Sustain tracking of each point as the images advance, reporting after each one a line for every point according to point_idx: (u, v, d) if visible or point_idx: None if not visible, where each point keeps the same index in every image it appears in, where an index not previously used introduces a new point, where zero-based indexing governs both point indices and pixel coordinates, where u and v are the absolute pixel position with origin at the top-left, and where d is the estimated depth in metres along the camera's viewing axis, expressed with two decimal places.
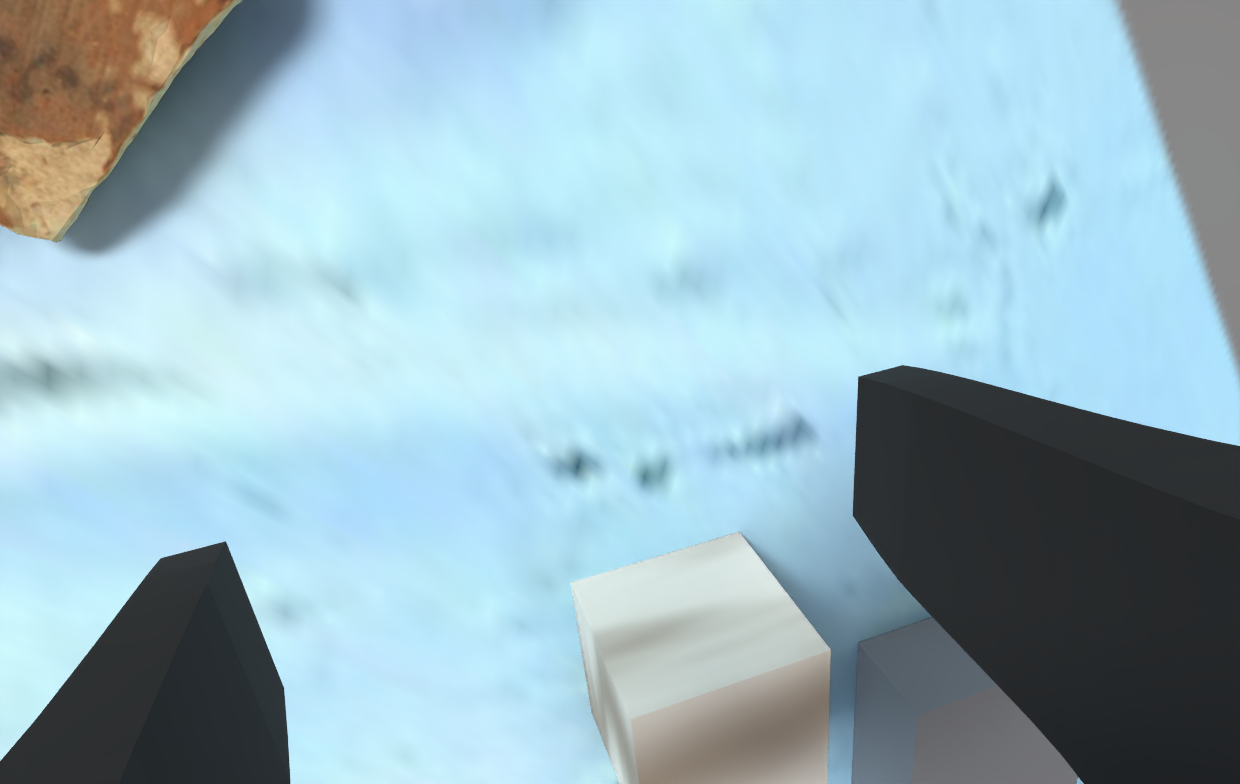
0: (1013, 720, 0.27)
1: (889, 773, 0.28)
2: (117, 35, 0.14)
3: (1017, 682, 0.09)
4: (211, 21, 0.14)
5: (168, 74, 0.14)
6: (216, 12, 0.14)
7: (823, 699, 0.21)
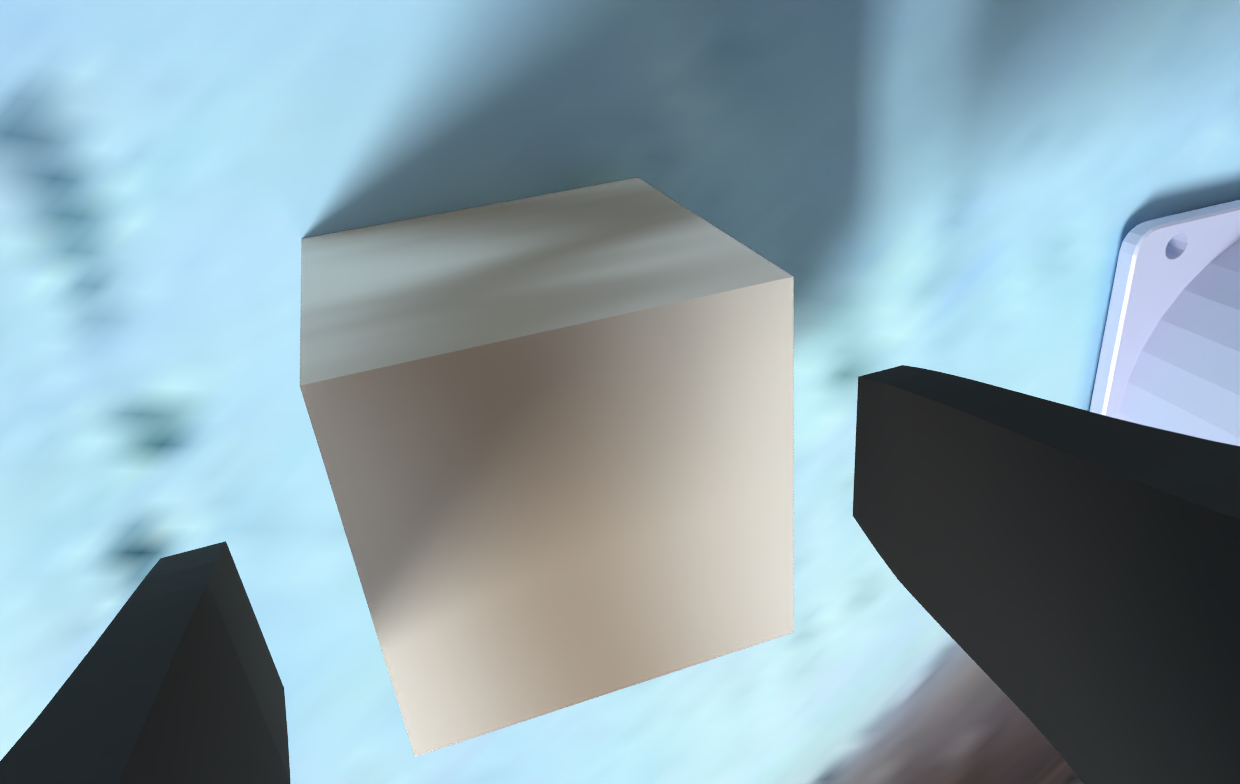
0: None
1: None
2: None
3: (1017, 682, 0.09)
4: None
5: None
6: None
7: (472, 364, 0.08)
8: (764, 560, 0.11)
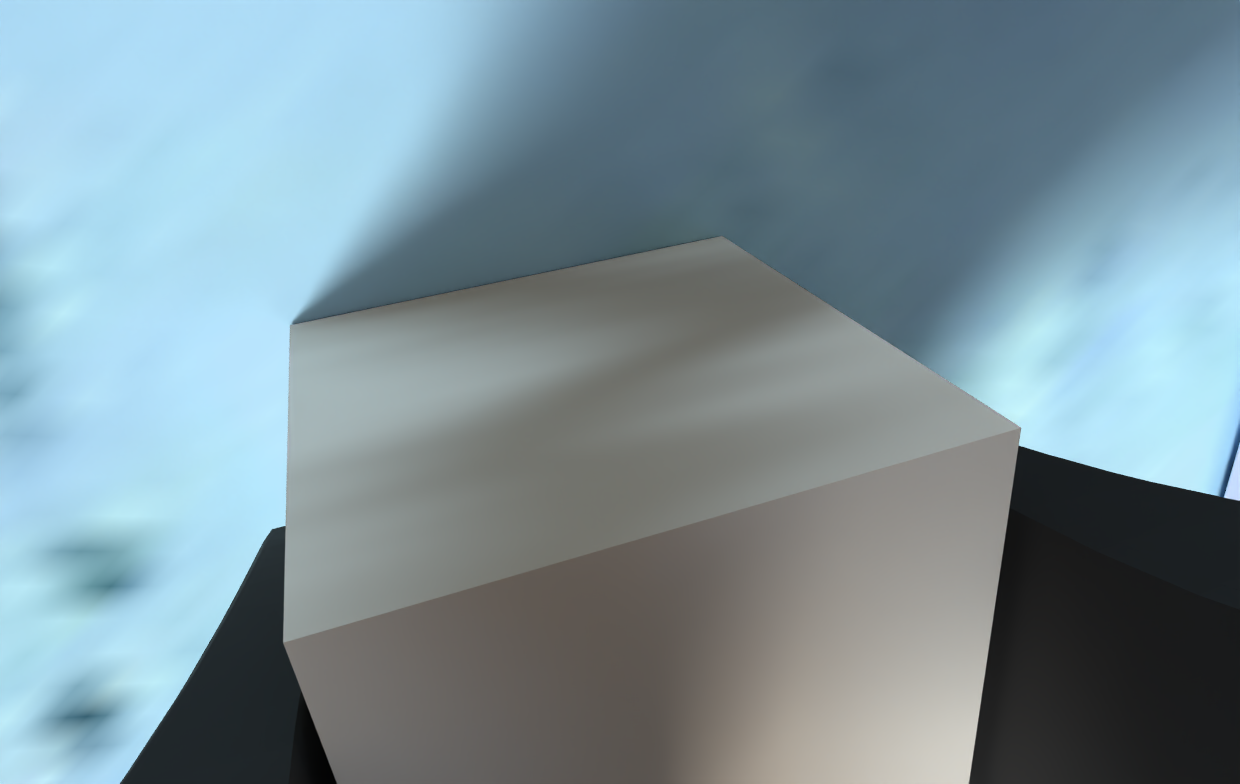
0: None
1: None
2: None
3: None
4: None
5: None
6: None
7: (553, 587, 0.05)
8: None
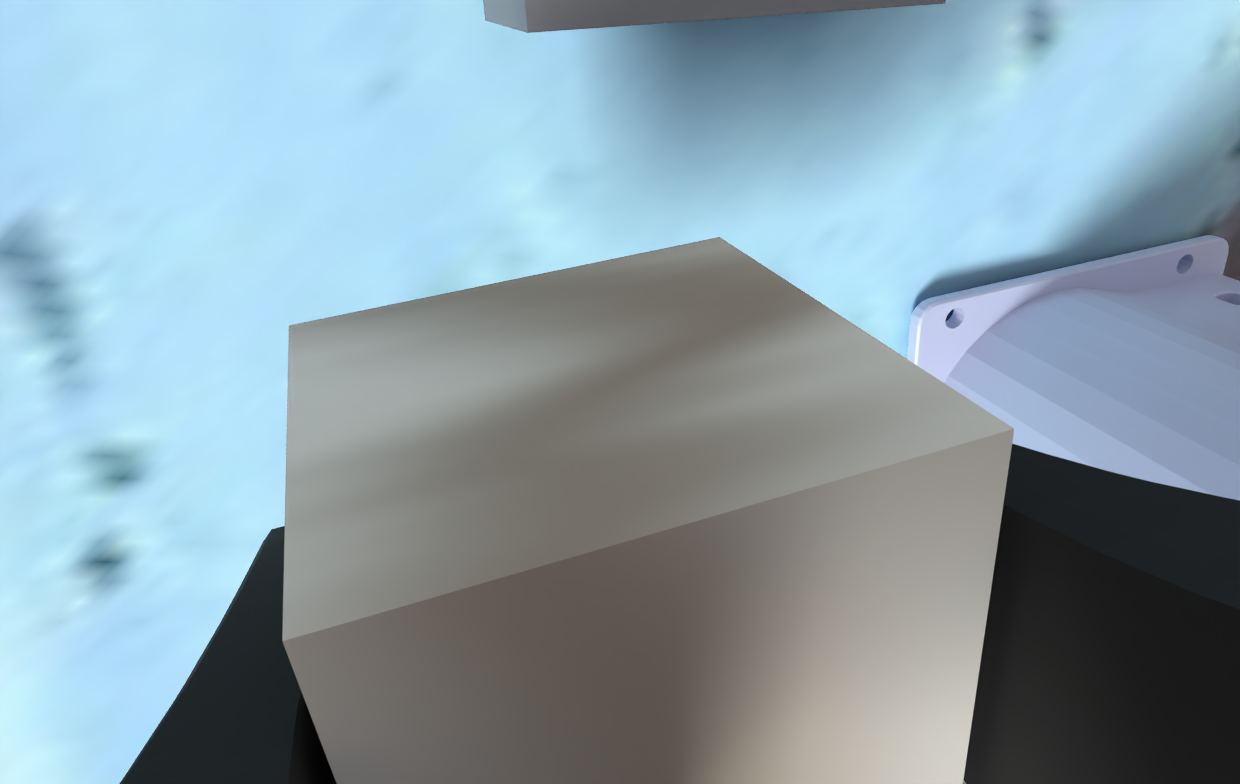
0: None
1: None
2: None
3: None
4: None
5: None
6: None
7: (551, 587, 0.05)
8: None
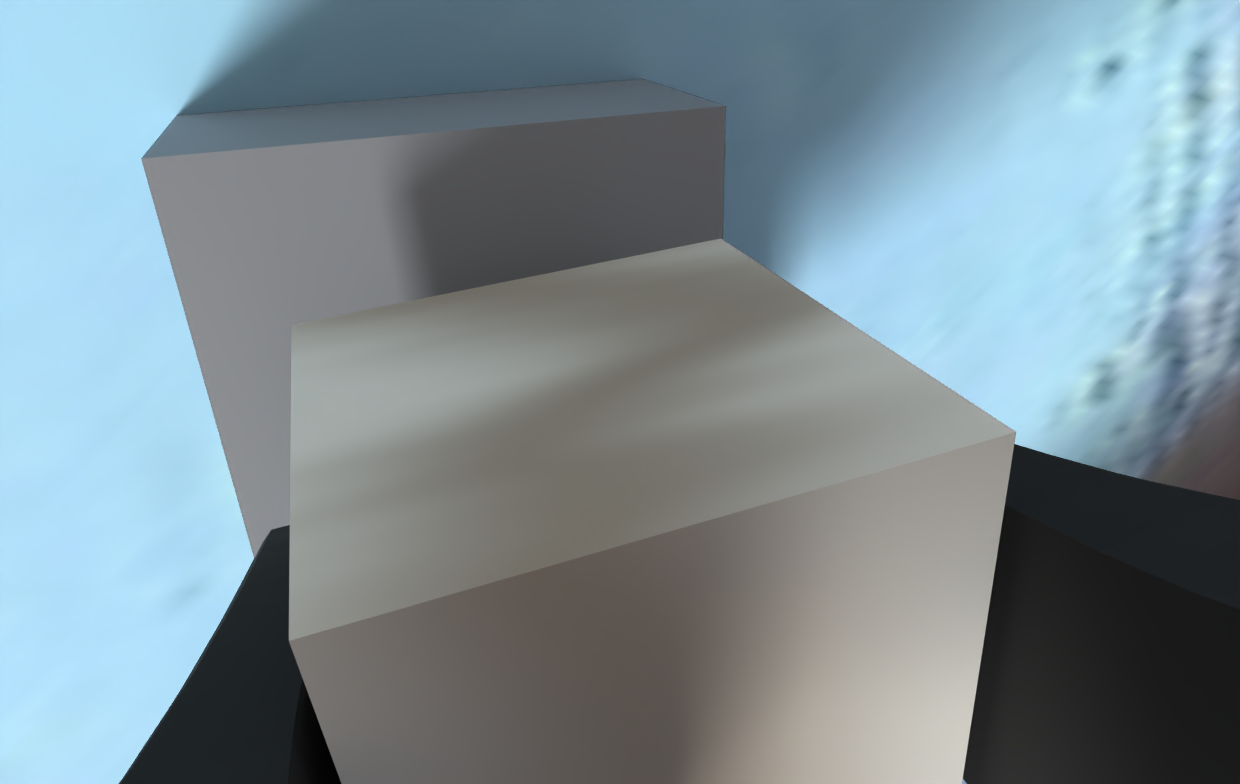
0: None
1: None
2: None
3: None
4: None
5: None
6: None
7: (556, 588, 0.05)
8: None
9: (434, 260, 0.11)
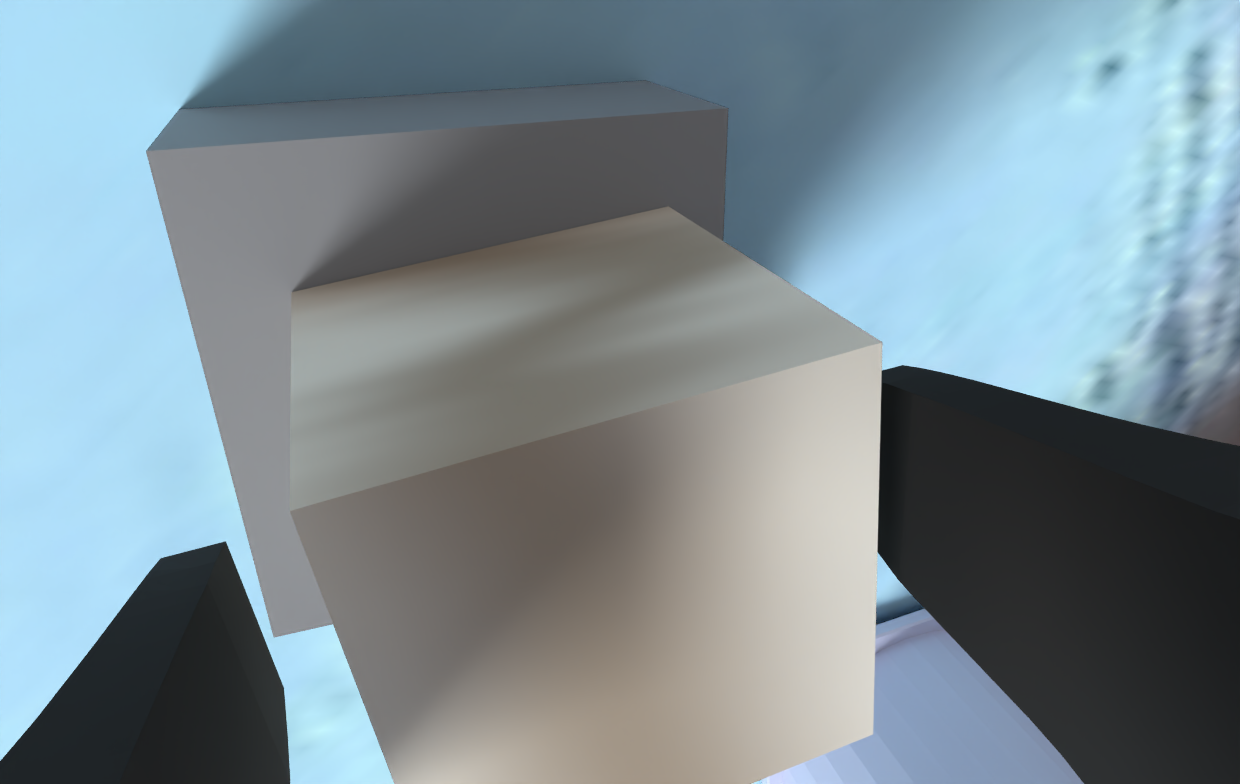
0: None
1: None
2: None
3: (1017, 682, 0.09)
4: None
5: None
6: None
7: (500, 471, 0.07)
8: (841, 660, 0.09)
9: (437, 257, 0.11)
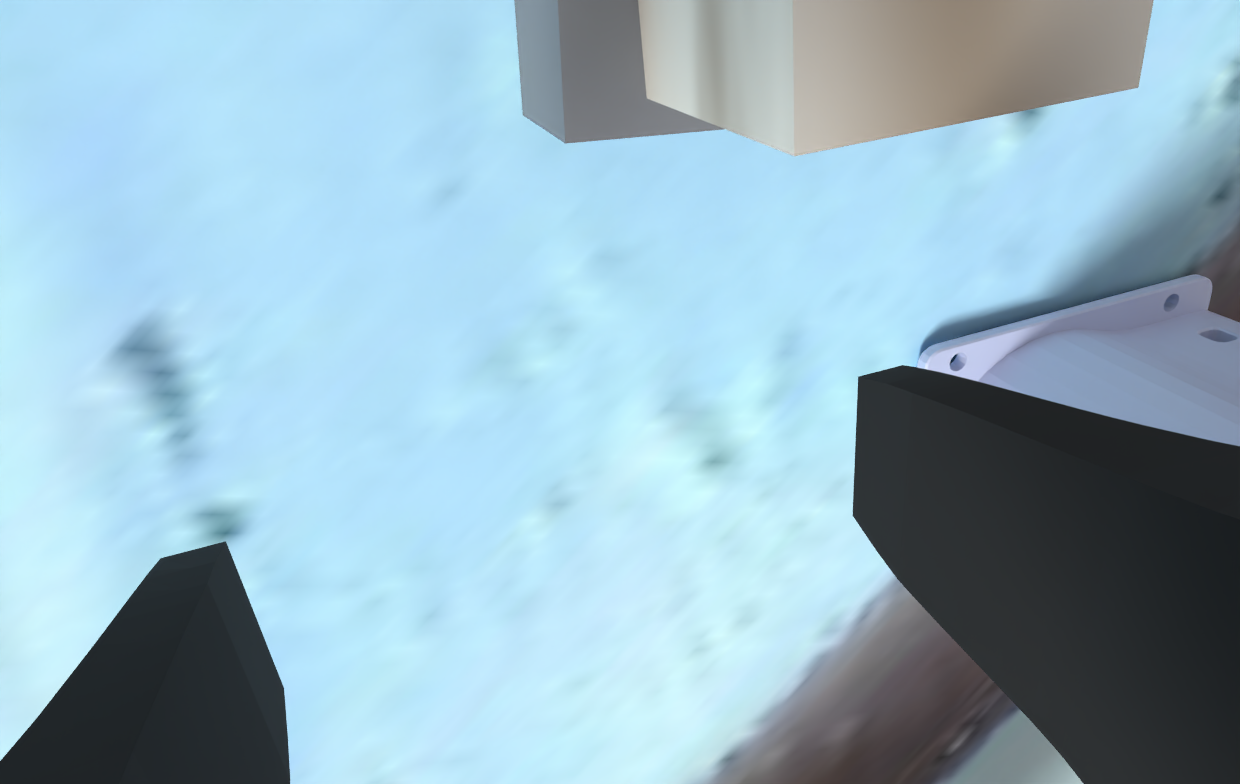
0: None
1: None
2: None
3: (1017, 682, 0.09)
4: None
5: None
6: None
7: None
8: None
9: None
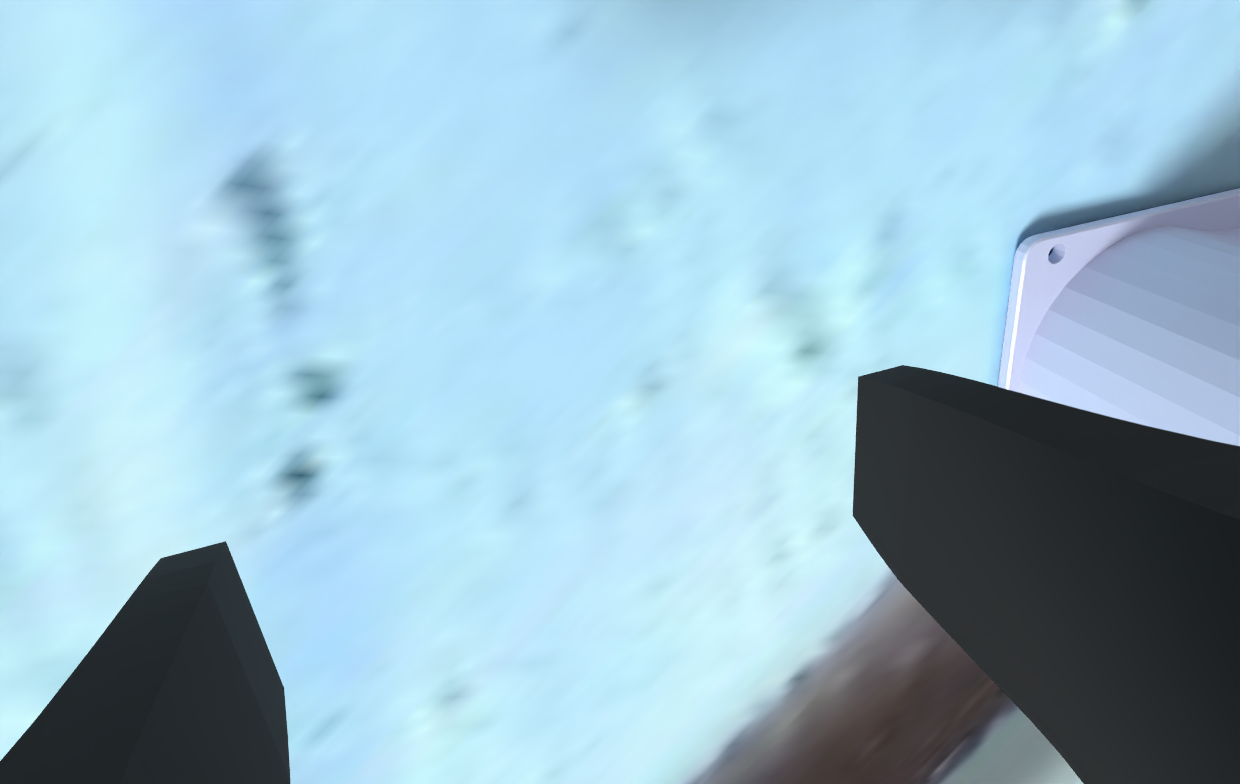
0: None
1: None
2: None
3: (1017, 682, 0.09)
4: None
5: None
6: None
7: None
8: None
9: None
